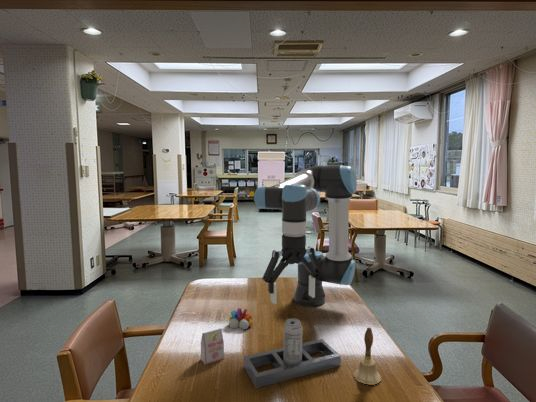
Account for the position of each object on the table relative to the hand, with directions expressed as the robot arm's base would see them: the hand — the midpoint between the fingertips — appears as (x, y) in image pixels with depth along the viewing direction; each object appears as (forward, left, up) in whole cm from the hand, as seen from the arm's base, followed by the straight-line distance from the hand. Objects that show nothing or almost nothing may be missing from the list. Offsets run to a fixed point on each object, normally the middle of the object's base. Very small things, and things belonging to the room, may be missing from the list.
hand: (293, 299), depth 110 cm
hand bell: (-19, +14, -23) cm, 33 cm away
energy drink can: (0, 0, -23) cm, 23 cm away
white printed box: (+23, -14, -23) cm, 35 cm away
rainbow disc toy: (+7, -33, -23) cm, 41 cm away
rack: (0, 0, -23) cm, 23 cm away
